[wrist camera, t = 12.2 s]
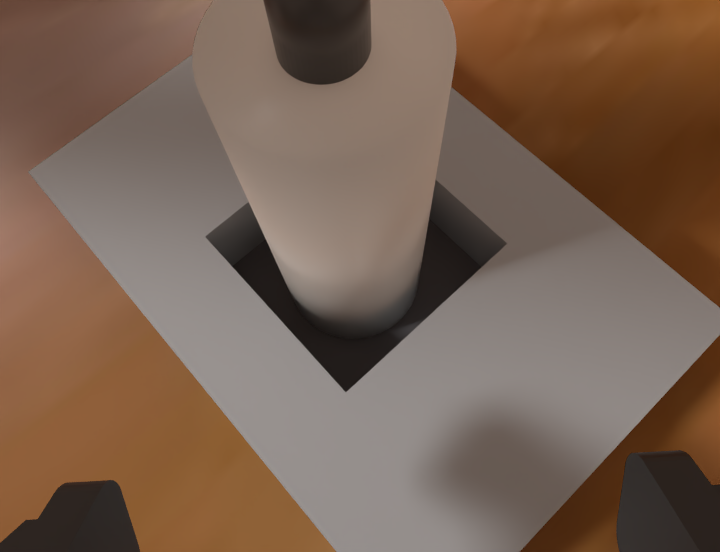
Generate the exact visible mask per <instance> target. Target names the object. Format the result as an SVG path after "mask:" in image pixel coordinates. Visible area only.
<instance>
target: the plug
mask: <svg viewBox="0 0 720 552" xmlns="http://www.w3.org/2000/svg"><path fill="white" fill-rule="evenodd" d="M455 59H456V36H455V31H454V26H453V23H452V20H451V17H450V15H449V12H448V10H447V8H446V7H445V5H444V3H443V1H442V0H214V1H213V2H212V3H211V5H210V6H209V8H208V9H207V11H206V12H205V14H204V16H203V18H202V20H201V22H200V24H199V27H198V30H197V33H196V36H195V39H194V45H193V52H192V67H193V73H194V79H195V83H196V85H197V88H198V91H199V94H200V96H201V98H202V101H203V103H204V105H205V107H206V109H207V112H208V114H209V116H210V118H211V120H212V123H213V125H214V127H215V129H216V131H217V134H218V136H219V138H220V140H221V142H222V144H223V147H224V149H225V151H226V153H227V155H228V158H229V160H230V162H231V164H232V166H233V169H234V171H235V173H236V175H237V177H238V180H239V182H240V184H241V186H242V188H243V190H244V193H245V195H246V197H247V199H248V201H249V204H250V206H251V208H252V210H253V212H254V215H255V217H256V219H257V221H258V223H259V226H260V228H261V230H262V232H263V234H264V237H265V239H266V241H267V243H268V245H269V247H270V250H271V252H272V254H273V256H274V258H275V261H276V263H277V265H278V267H279V269H280V272H281V274H282V276H283V278H284V280H285V283H286V285H287V287H288V289H289V291H290V293H291V296H292V298H293V300H294V302H295V304H296V306H297V308H298V310H299V311H300V313H301V314H302V315H303V317H304V318H305V319H306V320H307V321H308V322H309V323H310V324H312V325H313V326H314V327H315V328H317V329H319V330H320V331H322V332H324V333H326V334H329V335H331V336H335V337H338V338H345V339H361V338H367V337H371V336H375V335H377V334H380V333H382V332H384V331H386V330H388V329H390V328H391V327H392V326H394V325H395V324H396V323H397V322H398V321H400V320H401V319H402V318H403V316H404V315H405V314H406V313H407V311H408V310H409V308H410V307H411V305H412V303H413V300H414V298H415V295H416V292H417V287H418V281H419V275H420V269H421V263H422V257H423V252H424V246H425V240H426V234H427V228H428V222H429V216H430V210H431V204H432V198H433V192H434V186H435V180H436V174H437V168H438V162H439V156H440V150H441V144H442V138H443V132H444V126H445V120H446V114H447V108H448V102H449V96H450V90H451V84H452V78H453V72H454V66H455Z"/></svg>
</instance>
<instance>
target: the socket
mask: <svg viewBox="0 0 720 552" xmlns="http://www.w3.org/2000/svg"><path fill="white" fill-rule="evenodd" d="M28 172H29V174H30V175H31V176H32V177H33V179H34V180H35V181H36V182H37V184H38V185H39V186H40V187H41V188H42V190H43V191H44V192H45V193H46V195H47V196H48V197H49V198H50V200H51V201H52V202H53V203H54V204H55V206H56V207H57V208H58V209H59V211H60V212H61V213H62V214H63V216H64V217H65V218H66V219H67V220H68V222H69V223H70V224H71V225H72V227H73V228H74V229H75V230H76V232H77V233H78V234H79V235H80V236H81V238H82V239H83V240H84V241H85V243H86V244H87V245H88V246H89V248H90V249H91V250H92V251H93V252H94V254H95V255H96V256H97V257H98V259H99V260H100V261H101V262H102V264H103V265H104V266H105V267H106V268H107V270H108V271H109V272H110V273H111V275H112V276H113V277H114V278H115V280H116V281H117V282H118V283H119V284H120V286H121V287H122V288H123V289H124V291H125V292H126V293H127V294H128V296H129V297H130V298H131V299H132V300H133V302H134V303H135V304H136V305H137V307H138V308H139V309H140V310H141V312H142V313H143V314H144V315H145V316H146V318H147V319H148V320H149V321H150V323H151V324H152V325H153V326H154V328H155V329H156V330H157V331H158V332H159V334H160V335H161V336H162V337H163V339H164V340H165V341H166V342H167V344H168V345H169V346H170V347H171V348H172V350H173V351H174V352H175V353H176V355H177V356H178V357H179V358H180V360H181V361H182V362H183V363H184V364H185V366H186V367H187V368H188V369H189V371H190V372H191V373H192V374H193V376H194V377H195V378H196V379H197V380H198V382H199V383H200V384H201V385H202V387H203V388H204V389H205V390H206V392H207V393H208V394H209V395H210V396H211V398H212V399H213V400H214V401H215V403H216V404H217V405H218V406H219V408H220V409H221V410H222V411H223V412H224V414H225V415H226V416H227V417H228V419H229V420H230V421H231V422H232V424H233V425H234V426H235V427H236V428H237V430H238V431H239V432H240V433H241V435H242V436H243V437H244V438H245V440H246V441H247V442H248V443H249V444H250V446H251V447H252V448H253V449H254V451H255V452H256V453H257V454H258V456H259V457H260V458H261V459H262V460H263V462H264V463H265V464H266V465H267V467H268V468H269V469H270V470H271V472H272V473H273V474H274V475H275V476H276V478H277V479H278V480H279V481H280V483H281V484H282V485H283V486H284V488H285V489H286V490H287V491H288V492H289V494H290V495H291V496H292V497H293V499H294V500H295V501H296V502H297V504H298V505H299V506H300V507H301V508H302V510H303V511H304V512H305V513H306V515H307V516H308V517H309V518H310V520H311V521H312V522H313V523H314V524H315V526H316V527H317V528H318V529H319V531H320V532H321V533H322V534H323V536H324V537H325V538H326V539H327V540H328V542H329V543H330V544H331V545H332V547H333V548H334V549H335V550H336V552H520V551H521V550H522V549H523V548H524V546H525V545H526V544H527V543H528V542H529V541H530V540H531V539H532V538H533V537H534V536H535V535H536V533H537V532H538V531H539V530H540V529H541V528H542V527H543V526H544V525H545V524H546V523H547V521H548V520H549V519H550V518H551V517H552V516H553V515H554V514H555V513H556V512H557V511H558V510H559V508H560V507H561V506H562V505H563V504H564V503H565V502H566V501H567V500H568V499H569V498H570V497H571V495H572V494H573V493H574V492H575V491H576V490H577V489H578V488H579V487H580V486H581V485H582V484H583V482H584V481H585V480H586V479H587V478H588V477H589V476H590V475H591V474H592V473H593V472H594V471H595V469H596V468H597V467H598V466H599V465H600V464H601V463H602V462H603V461H604V460H605V459H606V458H607V456H608V455H609V454H610V453H611V452H612V451H613V450H614V449H615V448H616V447H617V446H618V445H619V443H620V442H621V441H622V440H623V439H624V438H625V437H626V436H627V435H628V434H629V433H630V432H631V430H632V429H633V428H634V427H635V426H636V425H637V424H638V423H639V422H640V421H641V420H642V418H643V417H644V416H645V415H646V414H647V413H648V412H649V411H650V410H651V409H652V408H653V407H654V405H655V404H656V403H657V402H658V401H659V400H660V399H661V398H662V397H663V396H664V395H665V394H666V392H667V391H668V390H669V389H670V388H671V387H672V386H673V385H674V384H675V383H676V382H677V381H678V379H679V378H680V377H681V376H682V375H683V374H684V373H685V372H686V371H687V370H688V369H689V368H690V366H691V365H692V364H693V363H694V362H695V361H696V360H697V359H698V358H699V357H700V356H701V355H702V353H703V352H704V351H705V350H706V349H707V348H708V347H709V346H710V345H711V344H712V343H713V342H714V340H715V339H716V338H717V337H718V336H719V335H720V308H719V307H718V306H717V305H716V304H714V303H713V302H712V301H711V300H710V299H708V298H707V297H706V296H705V295H703V294H702V293H701V292H700V291H699V290H697V289H696V288H695V287H694V286H692V285H691V284H690V283H689V282H688V281H686V280H685V279H684V278H683V277H682V276H680V275H679V274H678V273H677V272H675V271H674V270H673V269H672V268H671V267H669V266H668V265H667V264H666V263H665V262H663V261H662V260H661V259H660V258H658V257H657V256H656V255H655V254H654V253H652V252H651V251H650V250H649V249H648V248H646V247H645V246H644V245H643V244H641V243H640V242H639V241H638V240H637V239H635V238H634V237H633V236H632V235H631V234H629V233H628V232H627V231H626V230H624V229H623V228H622V227H621V226H620V225H618V224H617V223H616V222H615V221H614V220H612V219H611V218H610V217H609V216H607V215H606V214H605V213H604V212H603V211H601V210H600V209H599V208H598V207H597V206H595V205H594V204H593V203H592V202H590V201H589V200H588V199H587V198H586V197H584V196H583V195H582V194H581V193H580V192H578V191H577V190H576V189H575V188H573V187H572V186H571V185H570V184H569V183H567V182H566V181H565V180H564V179H562V178H561V177H560V176H559V175H558V174H556V173H555V172H554V171H553V170H552V169H550V168H549V167H548V166H547V165H545V164H544V163H543V162H542V161H541V160H539V159H538V158H537V157H536V156H535V155H533V154H532V153H531V152H530V151H528V150H527V149H526V148H525V147H524V146H522V145H521V144H520V143H519V142H518V141H516V140H515V139H514V138H513V137H511V136H510V135H509V134H508V133H507V132H505V131H504V130H503V129H502V128H501V127H499V126H498V125H497V124H496V123H494V122H493V121H492V120H491V119H490V118H488V117H487V116H486V115H485V114H484V113H482V112H481V111H480V110H479V109H477V108H476V107H475V106H474V105H473V104H471V103H470V102H469V101H468V100H467V99H465V98H464V97H463V96H462V95H460V94H459V93H458V92H457V91H456V90H454V89H453V88H452V87H451V90H450V96H449V102H448V108H447V114H446V120H445V126H444V132H443V138H442V144H441V150H440V156H439V162H438V168H437V174H436V180H435V186H434V192H433V198H432V204H431V210H430V216H429V222H428V228H427V234H426V240H425V246H424V252H423V257H422V263H421V269H420V275H419V281H418V287H417V292H416V295H415V298H414V300H413V303H412V305H411V307H410V308H409V310H408V311H407V313H406V314H405V315H404V316H403V318H402V319H401V320H400V321H398V322H397V323H396V324H395V325H394V326H392V327H391V328H390V329H388V330H386V331H384V332H382V333H380V334H377V335H375V336H371V337H367V338H361V339H345V338H338V337H335V336H331V335H329V334H326V333H324V332H322V331H320V330H319V329H317V328H315V327H314V326H313V325H312V324H310V323H309V322H308V321H307V320H306V319H305V318H304V317H303V315H302V314H301V313H300V311H299V310H298V308H297V306H296V304H295V302H294V300H293V298H292V296H291V293H290V291H289V289H288V287H287V285H286V283H285V280H284V278H283V276H282V274H281V272H280V269H279V267H278V265H277V263H276V261H275V258H274V256H273V254H272V252H271V250H270V247H269V245H268V243H267V241H266V239H265V237H264V234H263V232H262V230H261V228H260V226H259V223H258V221H257V219H256V217H255V215H254V212H253V210H252V208H251V206H250V204H249V201H248V199H247V197H246V195H245V193H244V190H243V188H242V186H241V184H240V182H239V180H238V177H237V175H236V173H235V171H234V169H233V166H232V164H231V162H230V160H229V158H228V155H227V153H226V151H225V149H224V147H223V144H222V142H221V140H220V138H219V136H218V134H217V131H216V129H215V127H214V125H213V123H212V120H211V118H210V116H209V114H208V112H207V109H206V107H205V105H204V103H203V101H202V98H201V96H200V94H199V91H198V88H197V85H196V83H195V79H194V73H193V67H192V55H191V56H189V57H188V58H187V59H185V60H184V61H182V62H181V63H180V64H178V65H177V66H175V67H174V68H173V69H171V70H170V71H168V72H167V73H166V74H164V75H163V76H161V77H160V78H159V79H157V80H156V81H154V82H153V83H152V84H150V85H149V86H147V87H146V88H145V89H143V90H142V91H140V92H139V93H138V94H136V95H135V96H133V97H132V98H131V99H129V100H128V101H126V102H125V103H124V104H122V105H121V106H119V107H118V108H117V109H115V110H114V111H112V112H111V113H110V114H108V115H107V116H105V117H104V118H103V119H101V120H100V121H98V122H97V123H96V124H94V125H93V126H91V127H90V128H89V129H87V130H86V131H84V132H83V133H82V134H80V135H79V136H77V137H76V138H75V139H73V140H72V141H70V142H69V143H68V144H66V145H65V146H63V147H62V148H61V149H59V150H58V151H56V152H55V153H54V154H52V155H51V156H49V157H48V158H47V159H45V160H44V161H42V162H41V163H40V164H38V165H37V166H35V167H34V168H33V169H31V170H30V171H28Z"/></svg>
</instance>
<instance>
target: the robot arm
mask: <svg viewBox="0 0 720 552" xmlns="http://www.w3.org/2000/svg"><path fill="white" fill-rule="evenodd" d="M617 541H618V547H619V551H620V552H720V485H711V484H710V482H709V481H708V479H707V478H706V477H705V475H704V474H703V473H702V471H701V470H700V469H699V467H698V466H697V465H696V463H695V462H694V461H693V459H692V458H691V457H690V456H689V455H688V454H687V453H686V452H684V451H680V450H679V451H661V452H643V453H631V454H630V455H629V456H628V457H627V460H626V464H625V471H624V478H623V485H622V491H621V498H620V505H619V512H618V519H617ZM0 552H140V549H139V545H138V542H137V539H136V536H135V533H134V530H133V526H132V523H131V520H130V517H129V514H128V511H127V508H126V504H125V501H124V498H123V495H122V492H121V489H120V487H119V485H118V484H117V483H116V482H115V481H113V480H108V481H90V482H72V483H64V484H63V485H61V486H60V487H59V488H58V489H57V490H56V492H55V493H54V494H53V496H52V498H51V499H50V501H49V502H48V504H47V506H46V507H45V509H44V510H43V512H42V513H41V515H40V517H39V518H38V519H36V520H26V521H24V522H23V523H22V524H21V525H20V526H19V527H18V528H17V529H15V530H14V531H13V532H12V533H11V534H10V535H9V536H8V537H6V538H5V539H4V540H3V541H2V542H1V543H0Z"/></svg>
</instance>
